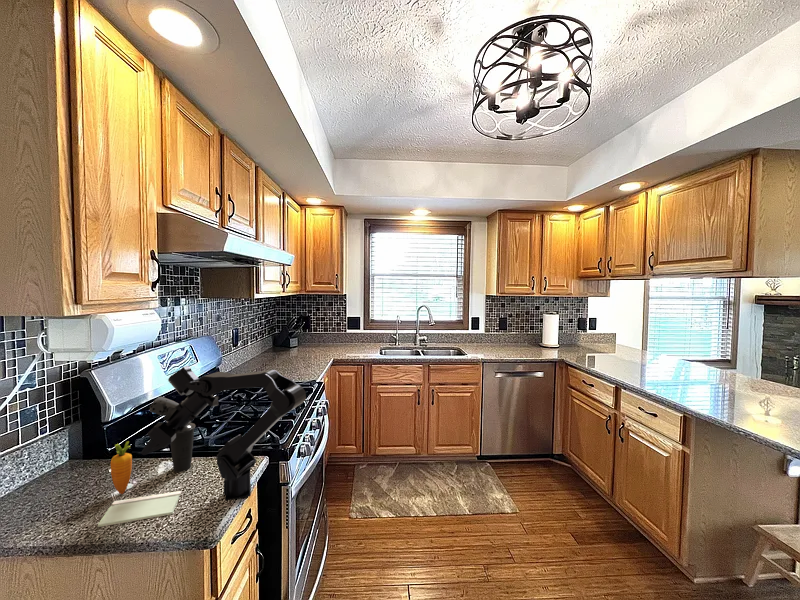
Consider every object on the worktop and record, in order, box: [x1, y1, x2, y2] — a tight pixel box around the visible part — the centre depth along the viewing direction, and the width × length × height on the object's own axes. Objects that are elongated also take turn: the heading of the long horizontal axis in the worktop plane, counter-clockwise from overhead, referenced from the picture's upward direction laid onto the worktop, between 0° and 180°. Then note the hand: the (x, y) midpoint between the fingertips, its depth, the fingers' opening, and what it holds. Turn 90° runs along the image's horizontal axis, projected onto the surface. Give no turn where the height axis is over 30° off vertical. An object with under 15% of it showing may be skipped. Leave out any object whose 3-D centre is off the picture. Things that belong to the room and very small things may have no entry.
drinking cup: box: [169, 422, 196, 473], centre depth 119 cm, size 8×8×20 cm
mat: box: [97, 495, 180, 528], centre depth 97 cm, size 16×8×1 cm, turn 110°
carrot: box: [110, 440, 133, 495], centre depth 105 cm, size 5×5×15 cm
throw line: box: [111, 490, 182, 506], centre depth 103 cm, size 16×2×1 cm, turn 110°
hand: (150, 446), depth 106 cm, fingers open, 9 cm apart
